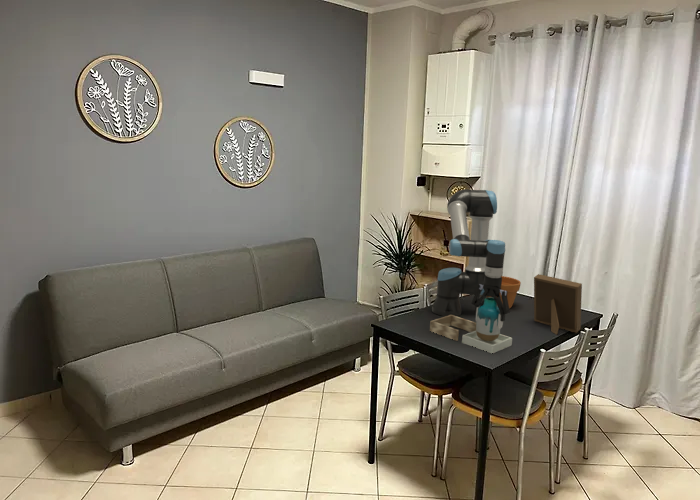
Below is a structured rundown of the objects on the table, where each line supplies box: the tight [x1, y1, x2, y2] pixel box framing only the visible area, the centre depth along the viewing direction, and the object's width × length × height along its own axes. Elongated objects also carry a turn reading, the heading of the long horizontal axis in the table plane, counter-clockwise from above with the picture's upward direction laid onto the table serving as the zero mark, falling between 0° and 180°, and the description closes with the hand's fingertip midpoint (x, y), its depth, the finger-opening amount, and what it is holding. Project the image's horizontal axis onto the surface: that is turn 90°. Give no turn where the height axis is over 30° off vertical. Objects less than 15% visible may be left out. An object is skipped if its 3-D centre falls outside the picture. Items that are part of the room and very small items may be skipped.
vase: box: [475, 297, 502, 341], centre depth 233 cm, size 11×11×19 cm
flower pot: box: [487, 275, 522, 309], centre depth 292 cm, size 21×21×15 cm
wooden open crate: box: [429, 315, 476, 342], centre depth 248 cm, size 16×16×5 cm
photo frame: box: [533, 273, 583, 335], centre depth 257 cm, size 15×22×25 cm
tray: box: [461, 331, 513, 354], centre depth 235 cm, size 16×16×4 cm
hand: (488, 324), depth 233 cm, fingers closed on vase, 10 cm apart
